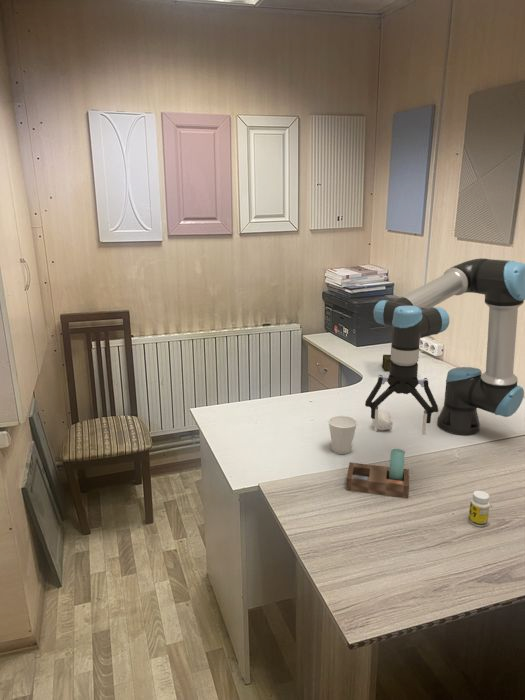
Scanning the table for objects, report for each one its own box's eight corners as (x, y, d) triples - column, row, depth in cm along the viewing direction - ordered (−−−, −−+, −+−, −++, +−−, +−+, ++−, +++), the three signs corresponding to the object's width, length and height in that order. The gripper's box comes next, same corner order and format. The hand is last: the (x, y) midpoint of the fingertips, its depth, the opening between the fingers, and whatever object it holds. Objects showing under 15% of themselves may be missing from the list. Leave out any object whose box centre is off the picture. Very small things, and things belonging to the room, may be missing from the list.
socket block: (407, 480, 159) (408, 468, 158) (408, 498, 150) (409, 485, 149) (349, 473, 164) (349, 461, 163) (345, 490, 154) (346, 477, 153)
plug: (401, 485, 157) (404, 449, 154) (401, 492, 153) (404, 455, 150) (388, 483, 158) (390, 448, 155) (387, 490, 154) (390, 454, 151)
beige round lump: (392, 434, 191) (394, 415, 188) (371, 432, 192) (372, 413, 190) (391, 425, 198) (393, 406, 196) (371, 423, 200) (372, 405, 197)
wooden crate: (399, 372, 259) (400, 359, 257) (384, 372, 259) (385, 358, 257) (396, 368, 266) (397, 354, 264) (382, 368, 266) (383, 354, 264)
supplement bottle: (465, 516, 142) (468, 489, 139) (481, 516, 142) (485, 489, 139) (473, 527, 137) (477, 499, 135) (490, 526, 137) (494, 499, 135)
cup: (358, 446, 182) (359, 417, 178) (353, 459, 173) (354, 429, 169) (330, 442, 185) (331, 413, 182) (324, 454, 176) (325, 425, 173)
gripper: (450, 360, 145) (443, 429, 151) (359, 354, 151) (357, 421, 157) (452, 368, 138) (445, 440, 144) (357, 362, 144) (355, 432, 150)
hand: (399, 430), depth 151 cm, fingers open, 13 cm apart
